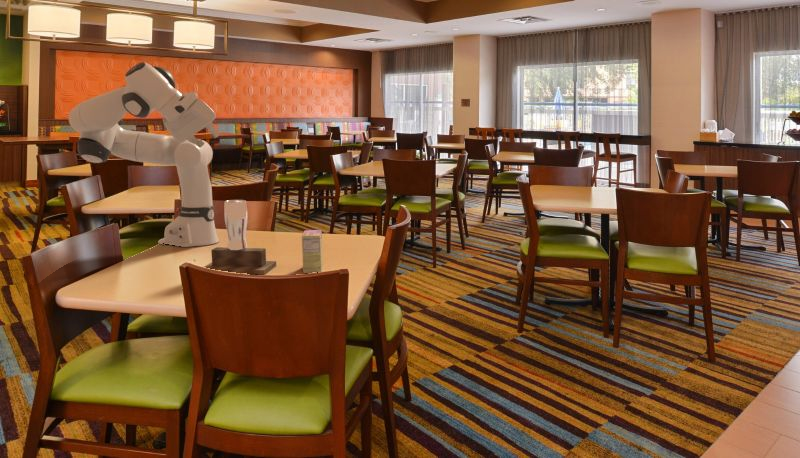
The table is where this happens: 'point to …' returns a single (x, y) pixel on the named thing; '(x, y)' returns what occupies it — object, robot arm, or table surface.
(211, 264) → the ridge
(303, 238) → the box
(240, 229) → the beer glass
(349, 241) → the table surface
